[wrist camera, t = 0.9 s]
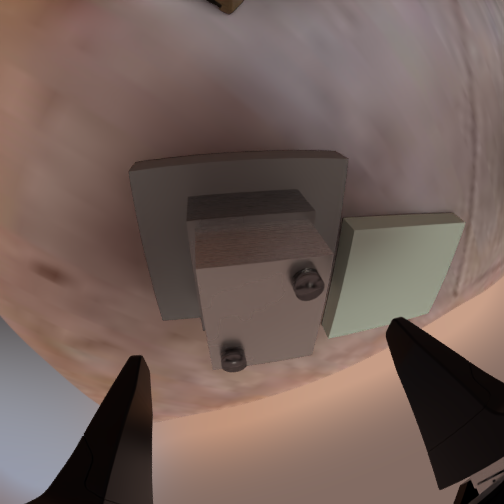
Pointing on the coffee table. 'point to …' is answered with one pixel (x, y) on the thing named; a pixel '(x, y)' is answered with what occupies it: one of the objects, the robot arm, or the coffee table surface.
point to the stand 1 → (220, 182)
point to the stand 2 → (388, 269)
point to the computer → (226, 5)
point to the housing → (257, 275)
